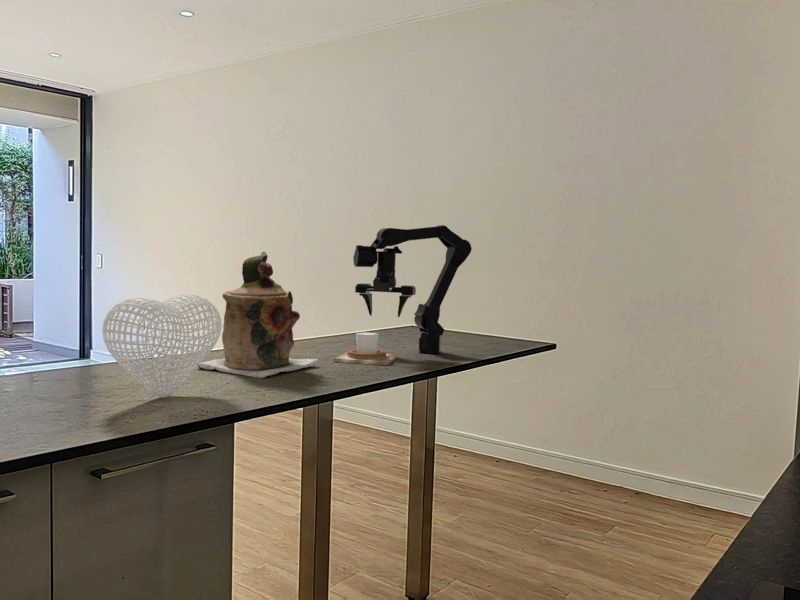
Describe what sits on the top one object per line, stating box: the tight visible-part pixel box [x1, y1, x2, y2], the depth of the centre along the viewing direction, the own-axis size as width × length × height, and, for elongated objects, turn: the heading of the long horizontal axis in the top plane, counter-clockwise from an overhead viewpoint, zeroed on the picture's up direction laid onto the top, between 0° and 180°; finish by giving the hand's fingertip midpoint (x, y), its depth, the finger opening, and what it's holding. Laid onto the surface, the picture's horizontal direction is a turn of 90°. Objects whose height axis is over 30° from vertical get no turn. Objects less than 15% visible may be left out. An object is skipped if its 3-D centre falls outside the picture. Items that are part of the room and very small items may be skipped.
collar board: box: [333, 348, 398, 366], centre depth 216 cm, size 16×15×2 cm
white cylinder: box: [355, 331, 380, 354], centre depth 215 cm, size 7×7×7 cm
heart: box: [102, 294, 223, 399], centre depth 155 cm, size 28×16×22 cm, turn 153°
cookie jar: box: [197, 251, 319, 379], centre depth 195 cm, size 25×25×32 cm
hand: (384, 316), depth 228 cm, fingers open, 9 cm apart
